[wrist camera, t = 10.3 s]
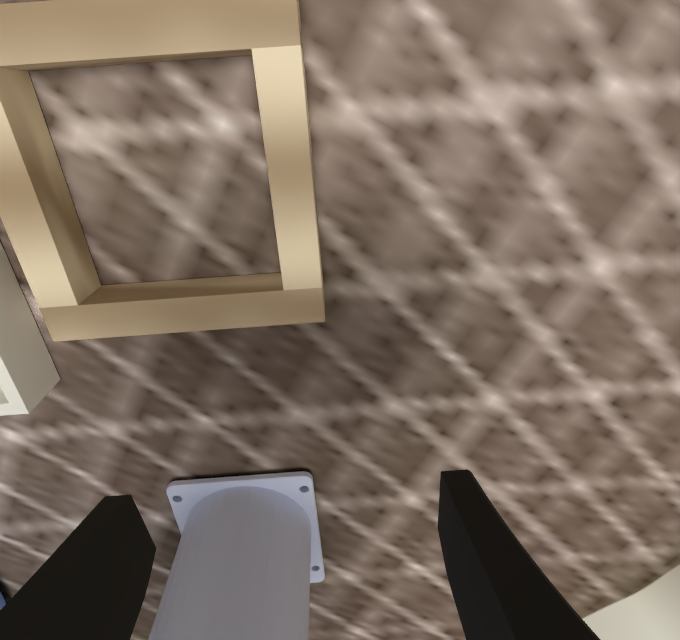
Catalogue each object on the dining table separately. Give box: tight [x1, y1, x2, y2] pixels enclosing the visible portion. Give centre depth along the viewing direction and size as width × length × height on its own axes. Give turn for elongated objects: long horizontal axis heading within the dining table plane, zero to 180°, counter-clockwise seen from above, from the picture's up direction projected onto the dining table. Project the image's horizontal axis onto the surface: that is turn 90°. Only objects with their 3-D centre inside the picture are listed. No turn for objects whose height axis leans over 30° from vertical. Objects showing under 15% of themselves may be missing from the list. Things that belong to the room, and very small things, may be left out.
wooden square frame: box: [0, 0, 325, 342], centre depth 16 cm, size 11×11×2 cm
